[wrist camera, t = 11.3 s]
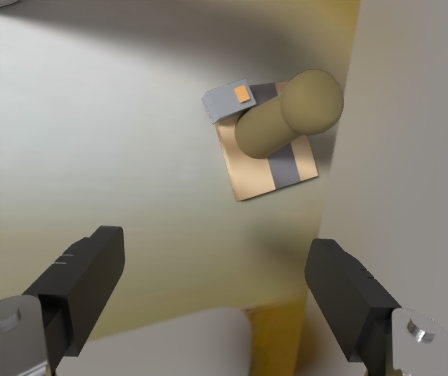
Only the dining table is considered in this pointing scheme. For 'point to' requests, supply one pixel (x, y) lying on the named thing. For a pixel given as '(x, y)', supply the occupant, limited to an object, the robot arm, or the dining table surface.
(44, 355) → the robot arm
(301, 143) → the plywood board
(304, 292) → the dining table surface
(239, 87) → the block
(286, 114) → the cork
